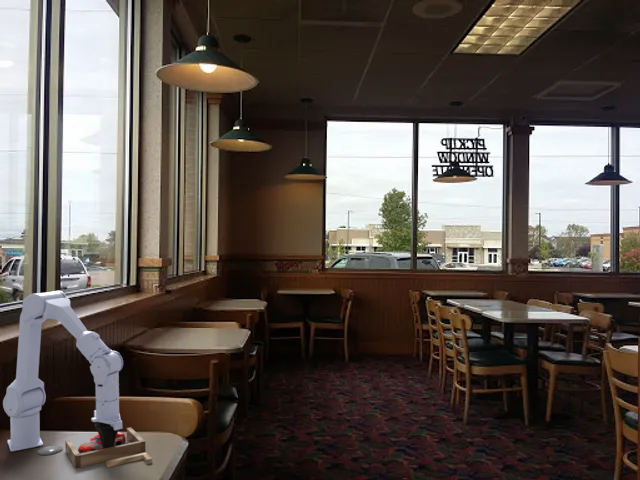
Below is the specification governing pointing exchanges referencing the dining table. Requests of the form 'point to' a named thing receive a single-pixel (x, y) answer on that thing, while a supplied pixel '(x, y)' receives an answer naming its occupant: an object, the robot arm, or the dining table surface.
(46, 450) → the slate coaster
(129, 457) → the oak crook stick
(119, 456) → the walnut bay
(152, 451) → the dining table surface
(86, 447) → the race car
